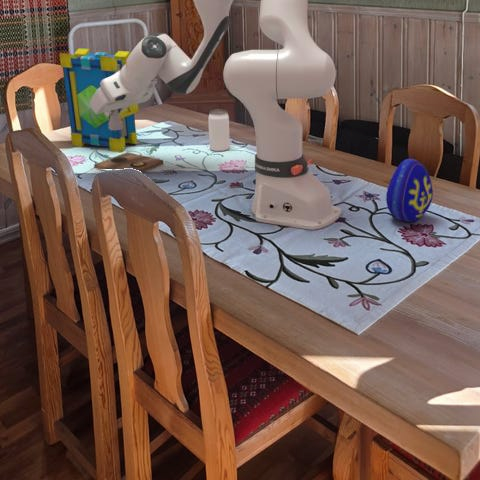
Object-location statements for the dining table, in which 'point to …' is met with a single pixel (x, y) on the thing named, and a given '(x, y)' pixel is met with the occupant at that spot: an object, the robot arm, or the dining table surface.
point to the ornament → (409, 191)
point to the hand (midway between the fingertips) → (113, 112)
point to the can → (219, 130)
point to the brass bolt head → (138, 163)
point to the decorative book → (81, 92)
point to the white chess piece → (115, 121)
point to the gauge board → (129, 162)
